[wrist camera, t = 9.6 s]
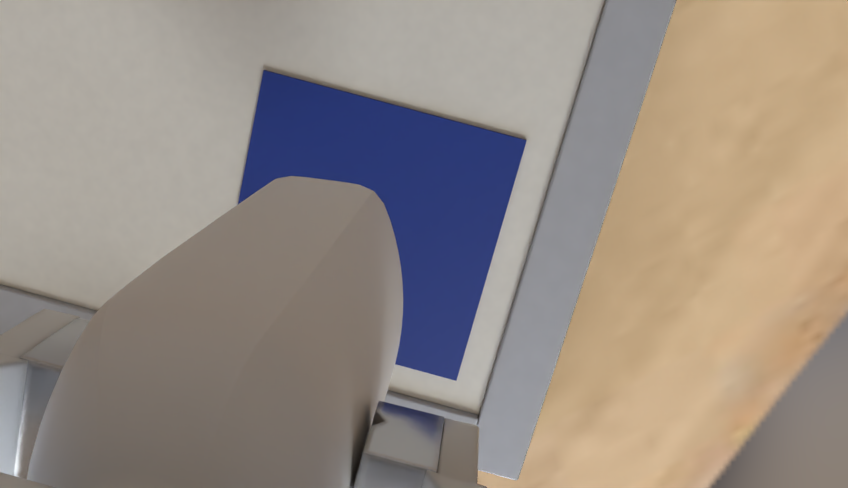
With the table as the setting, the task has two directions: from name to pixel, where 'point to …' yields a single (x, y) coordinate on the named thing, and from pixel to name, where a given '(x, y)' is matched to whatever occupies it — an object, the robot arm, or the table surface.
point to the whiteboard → (334, 159)
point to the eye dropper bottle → (237, 353)
